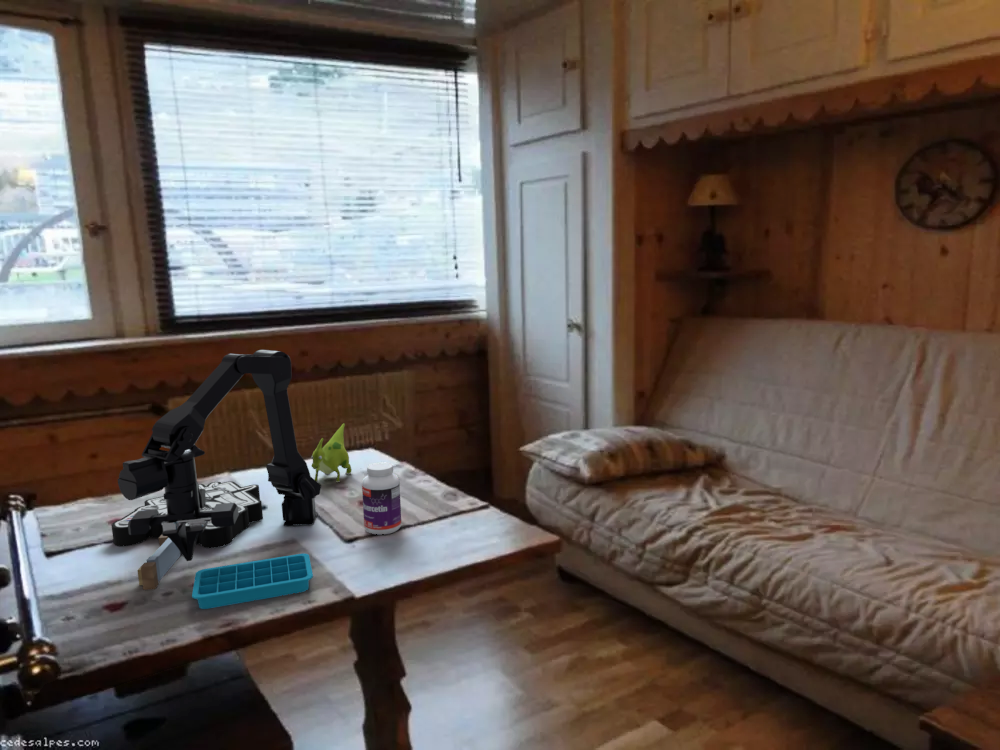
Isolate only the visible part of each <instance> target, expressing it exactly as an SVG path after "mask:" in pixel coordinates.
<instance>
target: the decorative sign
mask: <svg viewBox="0 0 1000 750" xmlns="http://www.w3.org/2000/svg"><path fill="white" fill-rule="evenodd" d="M198 484H199V489H205V496H206V505H204V507H203V508H202V509H200V511H210V510H213V509H214V507H215V506H216V504H223V503H235V504H236V505H237V506H238V512H239V515H238V518H237V520H236V522H235V524H234V525H232V526H225V527H215V526H214V525H213V524H212V523H211V521H208V524H207V526H206V527H205V529H204V531H203V532H201V533H199V535H198V538H197V541H196V545H198V544H199V545H200V546H201V547H203V548H204V549H217V548H221V547H224V546H228V545H230V544H231V543H232V542H233V540H234V539H235V538H237V536H238V535H240V534H241V533H242V532H243V531H244V530H247V529H248V528H250V524H251V523H256V522H259V521H262V520H263V519H264V516H263V515H264V514H263V503H262V500H261V496H260V486H259V484H251V485H245V486H241V485H240V484H238V483H236V482H235V481H230V480H229V481H224V482H221V481H212V482H210V483H208V484H207V485H205V484H203V483H198ZM155 509H157V510H158V512H159V515H165V514H168V513H167V505H166V500H164V495H162V496H158V497H154V498H153V497H152V498H149V499H145V501H144V505H142V506H139V507H136V508H135V509H134V511H131V512H129V514H127V515H125V516H124V517H122V518H120V519H117V520H116V521H114V522H113V523H111V525H110V526H111V533H112V540H113V545H114V546H116V547H121V548H122V547H130V546H135V545H139V544H141V543H143V542H145V541H146V540H147V539H148V538H154V539H159V537H160V536H161V535H162V532H163V525H157V526H151V529H150V530H149V531H148V532H147V533H146V534H139V535H129V531H128V522H129V521H130V520H131V519H132V517H133V516H134V515H135V514H136V513H137V512H138V511H144V510H155ZM189 527H190V525H189V523H186V531H187V530H188V528H189Z"/></svg>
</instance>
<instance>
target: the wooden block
mask: <svg viewBox="0 0 1000 750" xmlns="http://www.w3.org/2000/svg"><path fill="white" fill-rule="evenodd" d="M137 576H138V577H137V578H138V585H139V586H142V589H143V591H145V590H146V591H148V590H155V589H157V587H158V586H159V582H158V576H157V568H156V562H147V561H146V562H143V564H141V566H140V567H138V569H137Z"/></svg>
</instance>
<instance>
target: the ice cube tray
mask: <svg viewBox="0 0 1000 750" xmlns="http://www.w3.org/2000/svg"><path fill="white" fill-rule="evenodd" d="M312 578H314V573H313V570H312V563H311V558H310V554H309V553H304V552H303V553H297V554H291V555H284V556H278V557H272V558H271V557H270V558H265V559H259V560H253V561H246V562H239V563H234V564H233V563H232V564H227V565H226V564H225V565H221V566H214V567H209V568H202V569H200V570H197V571H196V572H195V574H194V581H193V588H192V594H191V598H192V599H194V600H197V603H198V608H199V609H201V610H208V609H214V608H219V607H225V606H232V605H237V604H242V603H248V602H254V600H255V601H259V600H265V599H270V598H271V599H272V598H276V597H277V598H278V597H283V596H289V595H293V593H295V594H300V593H304V592H306V590H307V591H308V590H309V584H310V582H309V581H310V580H312ZM299 592H300V593H299ZM288 594H289V595H288ZM282 595H283V596H282Z"/></svg>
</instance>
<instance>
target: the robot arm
mask: <svg viewBox="0 0 1000 750" xmlns="http://www.w3.org/2000/svg"><path fill="white" fill-rule="evenodd" d="M245 374H251V376H252V380H253V381H254V383H255V384H256V386H257V387H258V388H259V390H260V391H261V392H262V394H263V399H264V406H265V410H266V416H267V421H268V427H269V433H270V437H271V443H272V448H273V454H274V455H273V458H272V460H271V462H270V463H267V464H266V467H265V469H266V472H267V475H268V476H267V477H268V478H267V481H268V482H270V483H271V485H272V486H271V487H273V488H275V489H276V492H277V494H278V495H280V496H281V495H283V501H282V503H281V512H282V521H284V522H283V526H284V527H289V526H290V527H292V526H305V525H306V526H307V525H314V523H315V521H316V520H317V519H316V518H317V517H318V511H316V510H317V509H316V499H315V498H316V497H317V496H318V495H320V493H321V489H322V484H320V483H319V481H318V482H317V481H315V478H313V477H312V475H311V473H310V469H309V466H308V464H307V462H306V461H305V459H304V458H303V456H302V455H301V453H300V452H299V450H298V445H297V440H296V435H295V434H296V433H295V429H294V424H293V423H294V422H293V416H292V412H291V410H292V409H291V406H290V400H289V393H288V388H289V385H290V382H291V380H292V378H293V377H292V360H291V357H290V356H289V354H287V353H285V352H283V351H281V350H280V351H278V350H269V349H259V350H256V351H255V352H253V354H251V353H250V354H248V353H247V354H246V353H245V354H243V353H242V354H239V353H227V354H226V355H224V356H223V358H222V359H221V362H220V363H219V364H218V365H217V367H215V369H213V370H212V372H211V373H210V374H209V375H208V376H207V378H205V380H204V381H203V382H202V383H201V384H200V385H199V387H198V388H197V389H196V390H195V391H194V392H193V393H191V395H190V397H188V399H187V400H186V401H185V402H183V403H182V404H181V405H179V406H177V407H175V408H173V409H171V410H169V411H167V412H166V413H165V414H164V415H163V416H161V417H160V418H159V419H158V420H156V421H155V422H154V425H153V426H152V429H151V431H152V433H151V435H150V437H149V439H148V441H147V443H146V446H145V447H144V449H143V451H142V453H141V458H138V459H135V460H127V461H124V462H122V469H121V470H120V472H119V474H118V478H117V484H118V489H119V491H120V493H121V495H122V496H123V497H124V498H125V499H126V500H127V501H133V500H137V499H141V498H142V497H145V496H149V495H151V494H155V493H157V492H160V491H162V490H164V493H163V496H164V500H166V505H167V513H168V514H165V515H159V512H158V510H157V509H155V510H144V511H138V512H137V513H136V514H135V515H134V516H133V517H132V519H131V520H130V521H129V522H128V531H129V535H139V534H146V533H147V532H148V531H149V530H150V529H151V526H157V525H163V532H162V536H168V537H169V538H170V540H171V541H172V542H173V543H174V544H175V545H176V546H177V548H178V549H179V550H180V552H181V553H182V554H181V555H182V556H183V558H184V559H185V560H186V562H191V561H192V560H193V557H194V554H195V553H194V552H195V550H196V545H197V544H196V541H197V538H198V535H199V533H201V532H203V531H204V529H205V527H206V526H207V524H208V521H211V523H212V524H213V525H214V526H215V527H225V526H232V525H234V524H235V522H236V520H237V518H238V515H239V512H238V506H237V505H236V504H235V503H223V504H216V506H215V507H214V509H213V510H210V511H200V509H202V508H203V507H204V505H206V496H205V489H199V484H200V483H199V482H198V478H197V468H196V461H195V460H196V459H195V458H197V457H201V456H204V455H205V454H206V453H205V451H204V450H203V449H202V448H201V449H200V448H199V447H198V446H197V445H196V444H197V441H198V440H199V438H200V437H201V435H202V433H203V432H204V429H205V424H206V420H207V418H208V417H209V415H210V414H211V413H212V412H213V411H214V410H215V408H217V406H218V404H220V402H222V400H224V398H225V397H226V396H227V394H228V393H229V392H230V391H231V390H232V389H233V388H234V386H235V385H236V384H237V383H238V382H239V381H240V379H241V378H242V377H243V376H244V375H245ZM162 448H165V449H169V450H165V449H164V450H163V449H162ZM186 523H189V525H190V527H189V528H188V530H187V531H186Z"/></svg>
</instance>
